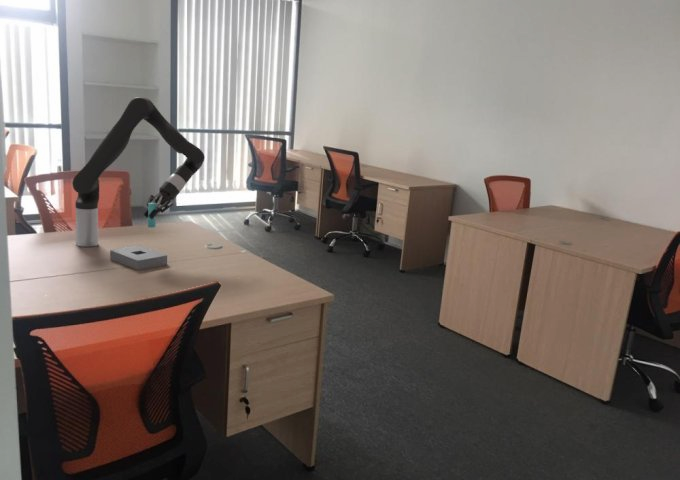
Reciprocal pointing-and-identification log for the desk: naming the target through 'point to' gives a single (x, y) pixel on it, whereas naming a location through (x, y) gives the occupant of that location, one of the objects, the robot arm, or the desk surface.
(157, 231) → the desk surface
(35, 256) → the desk surface
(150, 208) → the peg
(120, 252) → the hole block
